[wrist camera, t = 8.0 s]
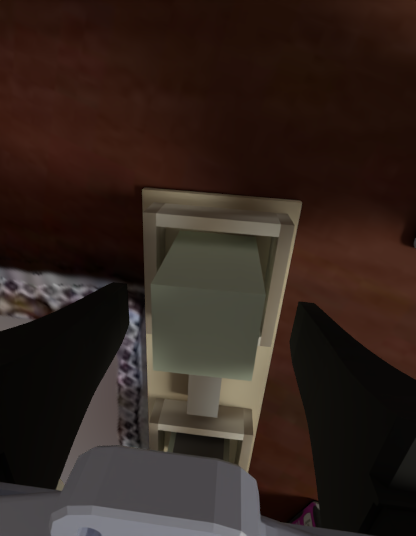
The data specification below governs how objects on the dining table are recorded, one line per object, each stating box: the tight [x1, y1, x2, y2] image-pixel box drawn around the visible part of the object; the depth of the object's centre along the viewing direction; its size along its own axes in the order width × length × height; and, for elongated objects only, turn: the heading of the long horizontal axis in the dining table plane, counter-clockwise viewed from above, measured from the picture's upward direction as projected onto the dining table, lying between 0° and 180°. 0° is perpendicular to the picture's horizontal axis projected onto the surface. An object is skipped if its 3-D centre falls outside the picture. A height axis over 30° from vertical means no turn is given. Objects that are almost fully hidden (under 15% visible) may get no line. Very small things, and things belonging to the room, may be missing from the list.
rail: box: [142, 188, 302, 473], centre depth 17 cm, size 8×22×6 cm, turn 176°
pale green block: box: [151, 230, 266, 381], centre depth 14 cm, size 4×4×6 cm
